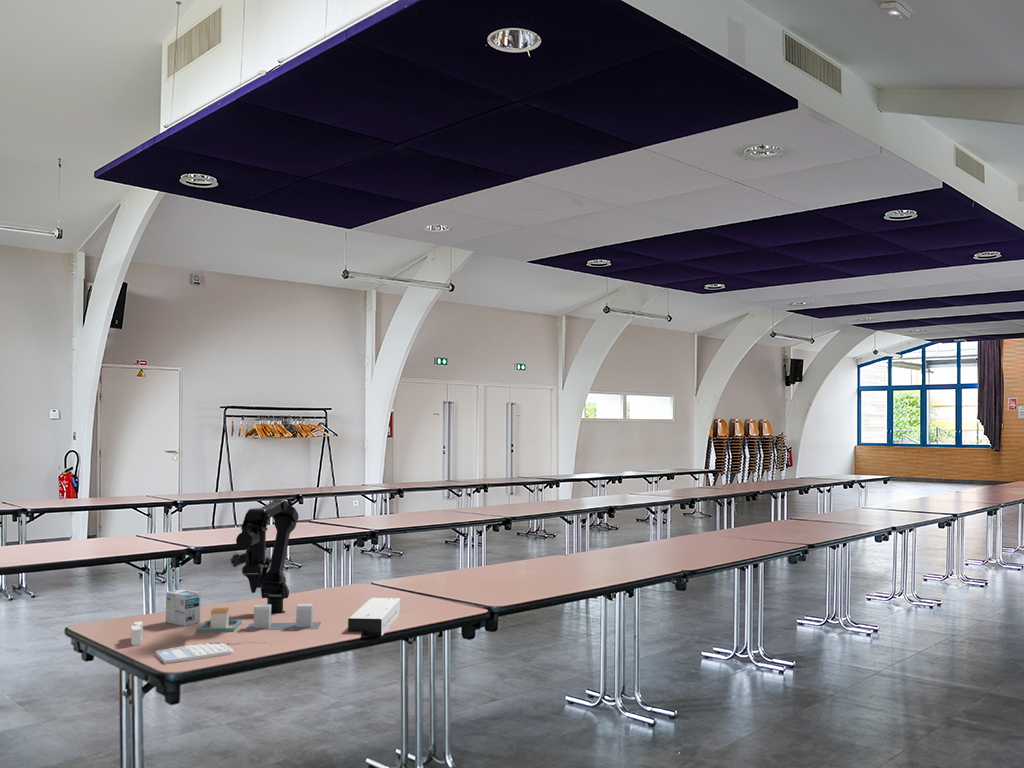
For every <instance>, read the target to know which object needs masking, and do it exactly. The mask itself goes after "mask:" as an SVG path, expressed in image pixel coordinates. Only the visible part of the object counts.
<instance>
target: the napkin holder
mask: <svg viewBox="0 0 1024 768" xmlns="http://www.w3.org/2000/svg"><path fill="white" fill-rule="evenodd" d="M130 627H131V628H130V630H131V631H130V642H131V645H135V646H140V645H141V641H142V639H143V637H144V636H143V635H144V623H143V621H134V622H133V625H132V624H131V626H130ZM143 640H144V639H143Z"/></svg>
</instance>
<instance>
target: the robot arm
mask: <svg viewBox="0 0 1024 768" xmlns="http://www.w3.org/2000/svg"><path fill="white" fill-rule="evenodd" d="M271 518H273V521H274V523H273V525H274V526H275V530H276V535H275V539H274V545H273V551H272V556H271V559H270V558H269V557H268V556H266V551H267V546H266V541H267V540H266V539H267V538H266V537H267V531H268V527H267V526H268V524H269V523H270V522H271ZM298 520H299V513H298V512H297V509H296V507H294V506H292V505H290V504H289V503H288V501H287V500H285V499H274V500H272V501H271V502H269V503H267V504H265V505H264V506H261V507H259V508H258V507H255V508H249V509H248V510H247V512H245V516H244V519H243V521H242V524H241V527H240V529H241V532H240V533H239V534H238V535H237V537H236V539H235V543H236V546H237V547H238V548H239V549H240V550H241V549H242V550H246V551H245V552H244V553H243V552H242V553H240V554H239V553H236V554H233V555H232V557H231V558H230V564H232V567H233V568H236V567H238V566H239V565H243V564H245V565H244V566H243V567H242V569H241V574H242V575H243V576H244V577H246V578H247V579H248V583H249V587H250V591H251V594H255V593H256V591H257V589H260V594H261V595H260V596H261V599H266V601H267V602H266V604H271V615H272V614H274V615H276V614H285V613H286V610H284V600H285V599H288V598H289V597H290V596H289V595H290V590H289V587H288V585H287V584H286V583H287V579H286V575H285V573H284V568H285V561H286V556H287V551H288V546H289V539H290V536H291V533H292V532H293V531H294V529H296V527H297V522H298Z"/></svg>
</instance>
